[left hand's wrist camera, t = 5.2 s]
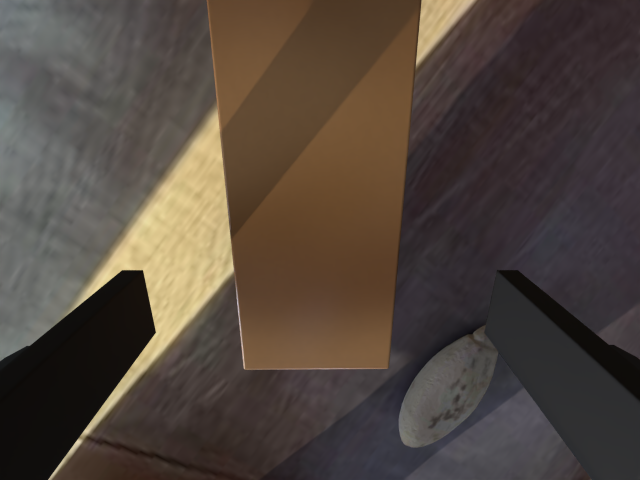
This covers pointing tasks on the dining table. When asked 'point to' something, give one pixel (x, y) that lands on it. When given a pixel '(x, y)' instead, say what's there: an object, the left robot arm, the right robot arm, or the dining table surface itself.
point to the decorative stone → (447, 389)
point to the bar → (315, 172)
